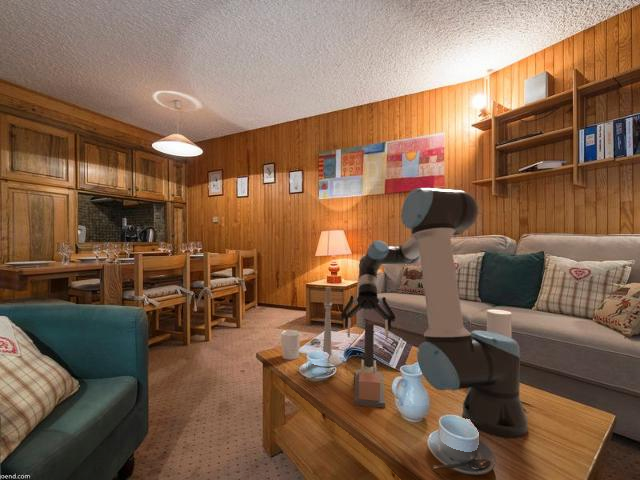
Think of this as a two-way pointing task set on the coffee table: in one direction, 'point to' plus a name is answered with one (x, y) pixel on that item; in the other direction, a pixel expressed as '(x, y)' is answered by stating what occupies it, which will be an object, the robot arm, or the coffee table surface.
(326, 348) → the candlestick
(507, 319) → the cylindrical container
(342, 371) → the coffee table surface
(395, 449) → the coffee table surface
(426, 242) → the robot arm
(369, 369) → the tube
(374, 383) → the tube stand
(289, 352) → the white cup
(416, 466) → the coffee table surface
